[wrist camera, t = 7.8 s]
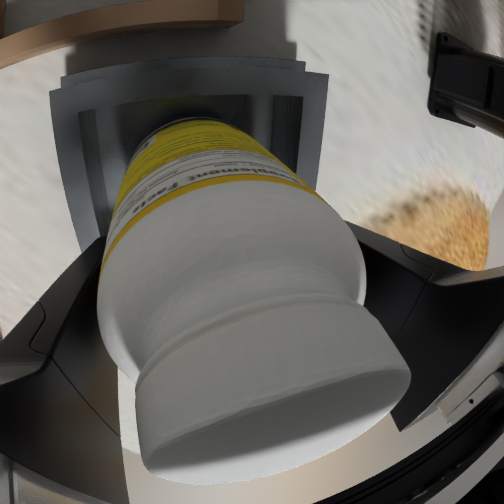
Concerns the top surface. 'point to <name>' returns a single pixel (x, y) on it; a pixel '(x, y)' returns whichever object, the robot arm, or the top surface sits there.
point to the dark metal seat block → (174, 108)
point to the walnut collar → (116, 24)
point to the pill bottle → (238, 311)
